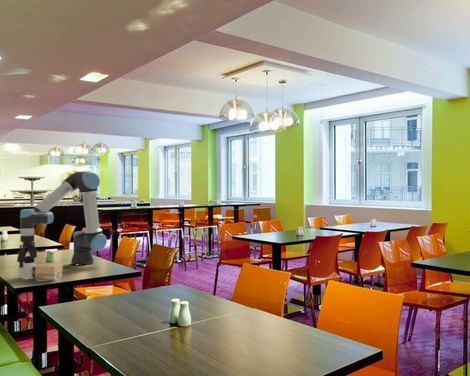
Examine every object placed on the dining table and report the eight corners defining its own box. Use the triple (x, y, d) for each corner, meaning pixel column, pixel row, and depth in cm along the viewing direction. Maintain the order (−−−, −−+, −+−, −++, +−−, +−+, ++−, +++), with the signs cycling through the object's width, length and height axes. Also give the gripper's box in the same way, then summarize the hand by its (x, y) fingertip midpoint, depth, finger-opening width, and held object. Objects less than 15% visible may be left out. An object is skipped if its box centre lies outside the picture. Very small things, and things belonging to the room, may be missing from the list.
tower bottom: (43, 277, 266) (43, 270, 266) (62, 277, 266) (62, 270, 266) (35, 281, 255) (35, 274, 255) (54, 281, 255) (54, 274, 255)
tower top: (44, 270, 266) (44, 262, 266) (62, 270, 266) (62, 262, 266) (35, 274, 255) (35, 266, 255) (54, 274, 255) (54, 266, 255)
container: (38, 276, 267) (38, 255, 267) (31, 279, 259) (30, 257, 259) (26, 276, 268) (25, 255, 267) (18, 279, 260) (18, 257, 260)
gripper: (30, 232, 275) (30, 266, 276) (10, 237, 250) (10, 274, 251) (42, 232, 275) (42, 266, 276) (23, 237, 250) (23, 275, 251)
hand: (27, 270), depth 263 cm, fingers open, 13 cm apart
